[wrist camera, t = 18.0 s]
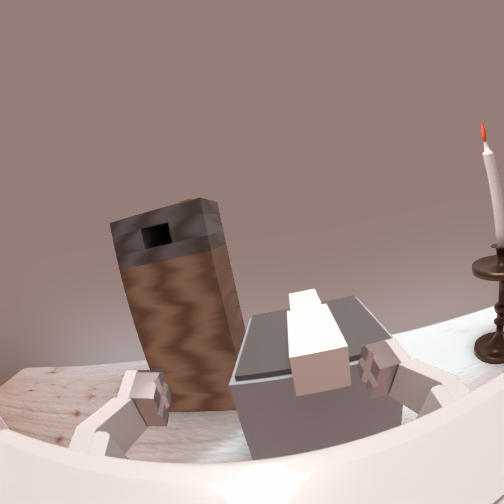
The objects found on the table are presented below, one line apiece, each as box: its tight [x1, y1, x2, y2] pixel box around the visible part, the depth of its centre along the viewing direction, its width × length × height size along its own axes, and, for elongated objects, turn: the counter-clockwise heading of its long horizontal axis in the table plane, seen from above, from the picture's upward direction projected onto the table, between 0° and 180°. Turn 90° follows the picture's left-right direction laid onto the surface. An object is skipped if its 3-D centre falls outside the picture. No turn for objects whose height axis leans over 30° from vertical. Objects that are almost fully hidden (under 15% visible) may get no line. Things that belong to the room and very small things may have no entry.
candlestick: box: [472, 122, 504, 364], centre depth 28 cm, size 11×11×35 cm
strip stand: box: [110, 198, 246, 411], centre depth 42 cm, size 14×10×31 cm
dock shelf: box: [229, 296, 403, 460], centre depth 28 cm, size 14×16×15 cm
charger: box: [287, 289, 351, 396], centre depth 24 cm, size 4×16×3 cm, turn 174°
